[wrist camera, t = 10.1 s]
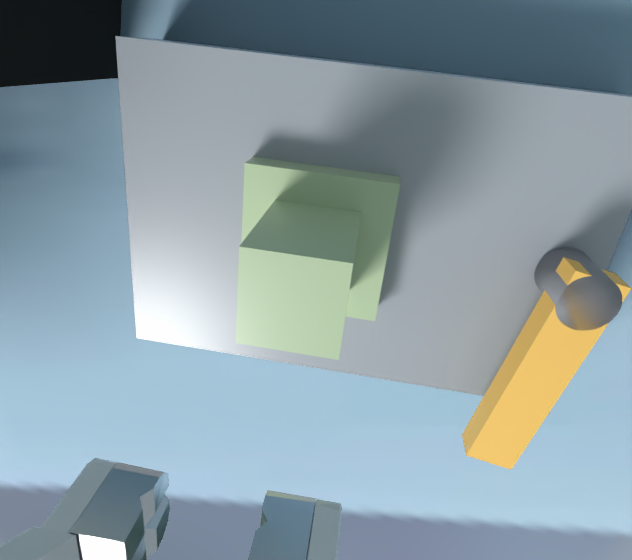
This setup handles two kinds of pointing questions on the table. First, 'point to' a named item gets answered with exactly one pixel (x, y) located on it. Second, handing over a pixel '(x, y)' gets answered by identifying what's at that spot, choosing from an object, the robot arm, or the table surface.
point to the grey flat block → (375, 157)
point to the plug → (310, 253)
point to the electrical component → (58, 40)
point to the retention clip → (544, 354)
